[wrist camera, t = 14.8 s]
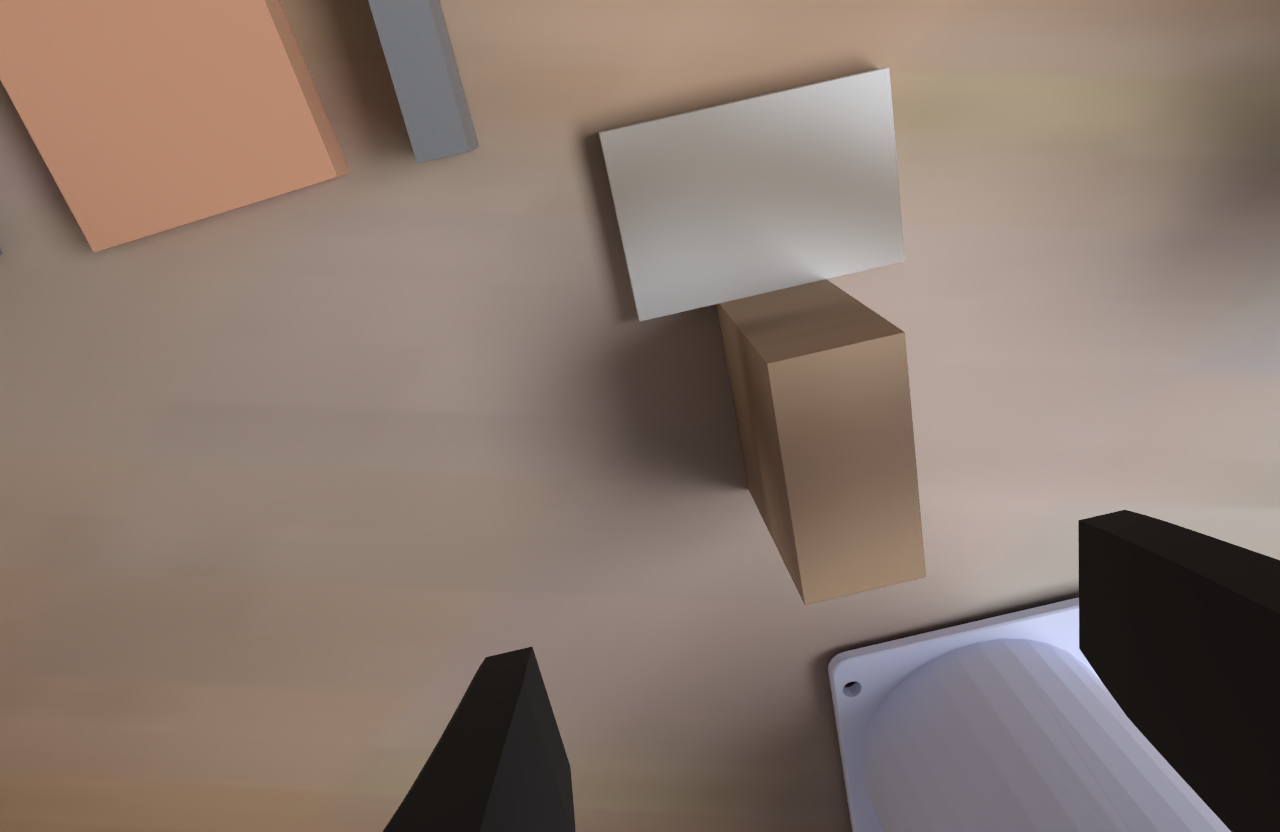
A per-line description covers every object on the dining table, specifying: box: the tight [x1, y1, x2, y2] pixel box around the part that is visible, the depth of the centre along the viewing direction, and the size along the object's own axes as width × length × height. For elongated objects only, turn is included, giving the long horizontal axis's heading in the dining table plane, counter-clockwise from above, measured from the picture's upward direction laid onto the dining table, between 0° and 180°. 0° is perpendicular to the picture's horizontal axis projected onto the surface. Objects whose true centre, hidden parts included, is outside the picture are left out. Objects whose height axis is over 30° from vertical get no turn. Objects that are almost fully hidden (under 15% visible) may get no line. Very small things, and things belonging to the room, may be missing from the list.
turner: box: [598, 68, 926, 605], centre depth 16 cm, size 9×6×5 cm, turn 12°
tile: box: [0, 0, 350, 252], centre depth 16 cm, size 5×5×2 cm
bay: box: [0, 0, 478, 254], centre depth 15 cm, size 7×11×2 cm, turn 102°
